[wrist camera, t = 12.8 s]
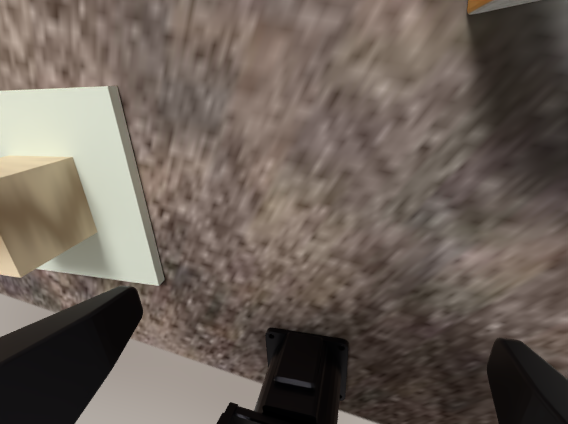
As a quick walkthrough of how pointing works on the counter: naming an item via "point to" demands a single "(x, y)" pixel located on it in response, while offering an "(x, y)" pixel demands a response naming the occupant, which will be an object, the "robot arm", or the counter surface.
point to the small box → (492, 5)
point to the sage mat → (89, 175)
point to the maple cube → (40, 211)
